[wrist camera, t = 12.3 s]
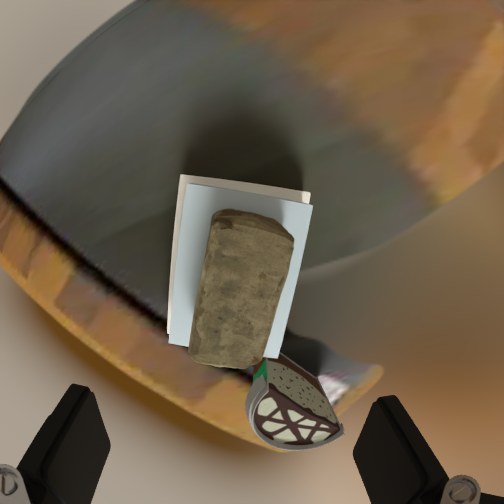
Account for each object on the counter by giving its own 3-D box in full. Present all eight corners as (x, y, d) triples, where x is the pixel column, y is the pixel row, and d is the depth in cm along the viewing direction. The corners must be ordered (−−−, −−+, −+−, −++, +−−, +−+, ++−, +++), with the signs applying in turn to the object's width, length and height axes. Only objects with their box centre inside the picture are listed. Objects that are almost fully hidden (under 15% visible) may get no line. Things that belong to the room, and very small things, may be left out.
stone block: (192, 334, 26) (184, 365, 21) (214, 203, 23) (209, 208, 18) (256, 345, 26) (261, 378, 21) (287, 218, 24) (301, 227, 19)
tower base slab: (187, 175, 30) (180, 174, 26) (301, 191, 31) (310, 192, 27) (173, 317, 34) (167, 333, 30) (276, 329, 35) (281, 346, 31)
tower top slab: (194, 183, 27) (187, 183, 23) (302, 202, 27) (312, 205, 24) (176, 323, 30) (168, 343, 26) (272, 337, 30) (277, 358, 27)
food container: (221, 366, 35) (218, 424, 25) (255, 333, 34) (263, 388, 24) (292, 410, 37) (305, 464, 27) (325, 383, 36) (347, 435, 27)
